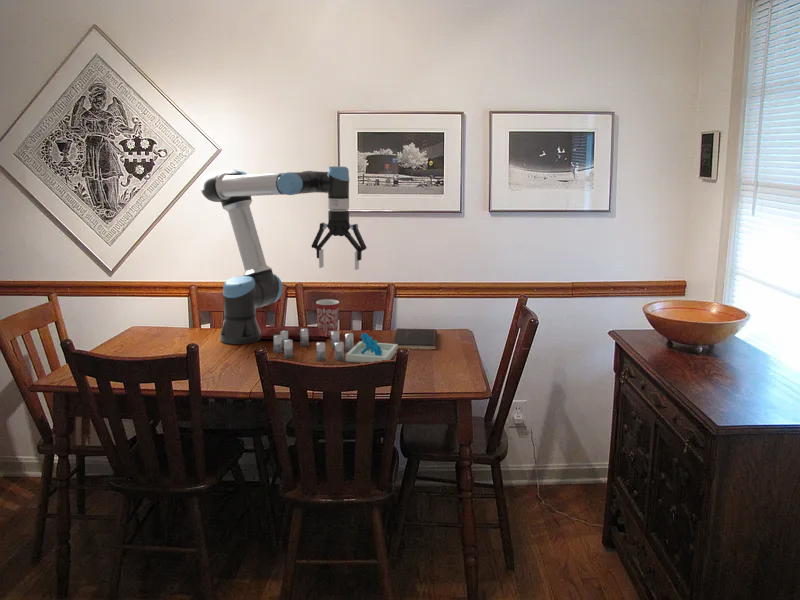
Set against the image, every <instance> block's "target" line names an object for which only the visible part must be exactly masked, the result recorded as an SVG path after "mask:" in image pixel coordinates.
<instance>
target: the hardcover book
mask: <svg viewBox="0 0 800 600" xmlns="http://www.w3.org/2000/svg"><path fill="white" fill-rule="evenodd" d="M395 329H396V330H395V334H394V338H393V342H392V344H398V348H400V347H406V348H409V349H408V350H431V349H436V350H437V346H438V345H437V340H438V339H437V338H438V330H437V329H434V328H402V327H401V328H398V327H397V328H395ZM410 348H411V349H410ZM417 348H419V349H417Z"/></svg>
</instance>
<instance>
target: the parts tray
mask: <svg viewBox="0 0 800 600" xmlns="http://www.w3.org/2000/svg"><path fill="white" fill-rule="evenodd" d="M377 343H378V344H377V345H379V346H380V347H381V349H380V350H382V355H380V356H379V355H375V351H374V352H373V353H372V352H371V351H370V350H371V349H370V350H369V351H366V352H365V353H364V354H362V353H361V352H362V351H363V350H364V349H365V348H366V346H365V345H366V344H365V343H363V342H362V340H361V341H360V340H359V341H358V342H357V343H356V344H354V345H353V348H352V349H351V350H350V351H347V352H346V354H345V362H346V363H347V362H348V363H349V362H350V363H360V364H365V363H364V362H375V361H382V360H390V361H391V360H392V358H393V357H395V355H396V354H397V352H396V350H397V349H398V344H393V343H387V342H384V343H383V342H377ZM398 350H399V349H398ZM395 353H396V354H395Z"/></svg>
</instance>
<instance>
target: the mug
mask: <svg viewBox="0 0 800 600" xmlns="http://www.w3.org/2000/svg"><path fill="white" fill-rule="evenodd" d="M315 305H316V317H317V327H318V328H317V330H318V329H319V330H322V331H326V332H327V333H328V337H329V338H330V339H331V331H338V325H339V310H340V308H339V306H340V301H339V300H336V299H328V298H327V299H319V300H317V301H315ZM329 338H328V339H329Z"/></svg>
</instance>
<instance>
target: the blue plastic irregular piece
mask: <svg viewBox="0 0 800 600" xmlns="http://www.w3.org/2000/svg"><path fill="white" fill-rule="evenodd" d="M360 338H361V342H363V343H365V344H366V345H365V346H366V348H365V349H364V350H363V351H362V352H361V353H362V354H364V353H365V352H366V351H369V350H370V349H371V350H370V351H371V352H372V353H373V352H374V351H375V355H379V356H380V355H382V350H380V349H381V347H380V346H379V345H377V344H378V343H379V342H378V340H377V339H375V340H373V339H374V338H373V336H372V335H370V336H369V334H368V332H366V333H365V332H362V333H361V336H360Z"/></svg>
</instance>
